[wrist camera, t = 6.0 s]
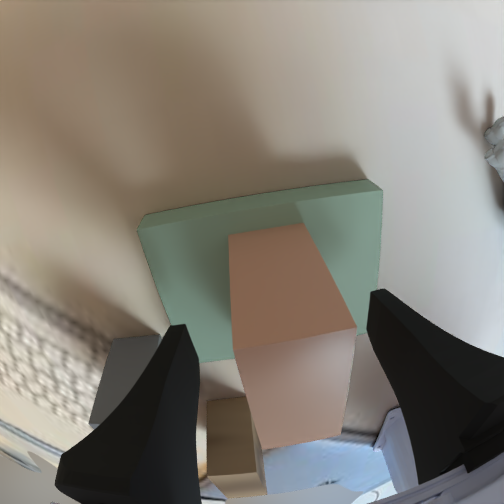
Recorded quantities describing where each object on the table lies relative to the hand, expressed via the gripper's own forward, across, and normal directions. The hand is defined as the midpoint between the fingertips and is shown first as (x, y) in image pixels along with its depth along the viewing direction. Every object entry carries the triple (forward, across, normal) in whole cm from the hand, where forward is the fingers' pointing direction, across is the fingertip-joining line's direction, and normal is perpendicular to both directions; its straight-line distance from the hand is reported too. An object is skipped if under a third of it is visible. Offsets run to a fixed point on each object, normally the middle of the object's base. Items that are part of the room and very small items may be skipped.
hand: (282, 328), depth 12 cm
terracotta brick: (+2, 0, 0) cm, 2 cm away
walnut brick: (+4, +4, +13) cm, 14 cm away
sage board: (+4, 0, 0) cm, 4 cm away
